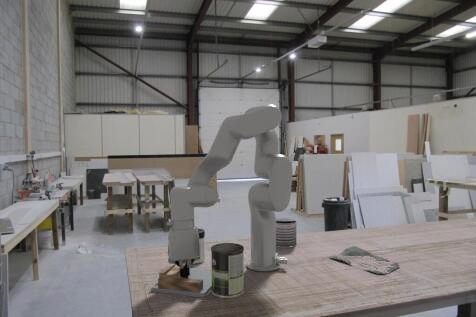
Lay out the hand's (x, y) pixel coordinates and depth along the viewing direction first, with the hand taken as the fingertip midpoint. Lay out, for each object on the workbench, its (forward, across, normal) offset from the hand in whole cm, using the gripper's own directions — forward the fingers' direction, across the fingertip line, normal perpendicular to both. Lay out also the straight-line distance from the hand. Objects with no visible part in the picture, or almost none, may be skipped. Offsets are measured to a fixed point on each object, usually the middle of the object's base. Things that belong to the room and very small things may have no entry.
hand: (184, 278), depth 121 cm
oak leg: (0, -2, +3) cm, 4 cm away
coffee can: (+2, +11, -11) cm, 16 cm away
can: (+3, +53, +30) cm, 61 cm away
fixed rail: (+1, -3, -6) cm, 7 cm away
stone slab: (+4, +70, -5) cm, 70 cm away
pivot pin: (+1, +2, +10) cm, 10 cm away
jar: (+2, +9, +23) cm, 25 cm away
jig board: (+2, +2, +1) cm, 3 cm away
